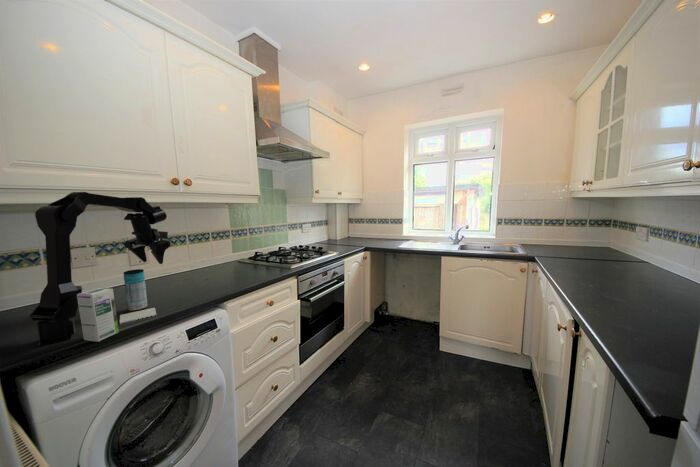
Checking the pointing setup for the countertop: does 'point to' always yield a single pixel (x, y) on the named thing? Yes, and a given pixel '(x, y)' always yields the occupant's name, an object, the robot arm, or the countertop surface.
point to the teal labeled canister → (135, 290)
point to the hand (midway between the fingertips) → (153, 262)
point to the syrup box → (97, 314)
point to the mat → (137, 315)
